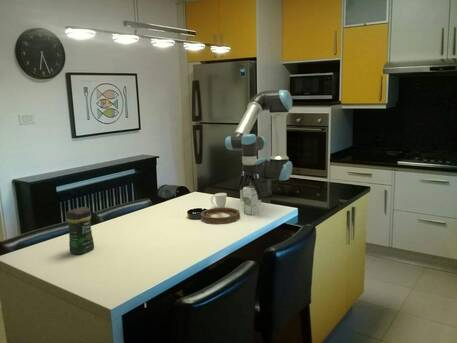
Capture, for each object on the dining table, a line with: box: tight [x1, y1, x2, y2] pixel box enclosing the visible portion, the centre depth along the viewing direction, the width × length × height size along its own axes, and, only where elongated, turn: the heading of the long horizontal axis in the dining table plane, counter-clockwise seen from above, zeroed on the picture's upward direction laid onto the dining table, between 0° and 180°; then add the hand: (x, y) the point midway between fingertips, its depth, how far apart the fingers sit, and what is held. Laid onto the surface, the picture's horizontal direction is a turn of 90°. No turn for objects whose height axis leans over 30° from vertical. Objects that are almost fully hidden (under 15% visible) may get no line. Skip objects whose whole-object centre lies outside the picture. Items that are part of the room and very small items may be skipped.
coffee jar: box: [66, 206, 95, 255], centre depth 169 cm, size 10×8×19 cm
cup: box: [210, 192, 227, 208], centre depth 230 cm, size 7×10×8 cm
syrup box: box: [243, 185, 259, 216], centre depth 215 cm, size 6×6×14 cm
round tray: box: [200, 207, 241, 225], centre depth 209 cm, size 20×20×3 cm
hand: (250, 203), depth 215 cm, fingers open, 13 cm apart
